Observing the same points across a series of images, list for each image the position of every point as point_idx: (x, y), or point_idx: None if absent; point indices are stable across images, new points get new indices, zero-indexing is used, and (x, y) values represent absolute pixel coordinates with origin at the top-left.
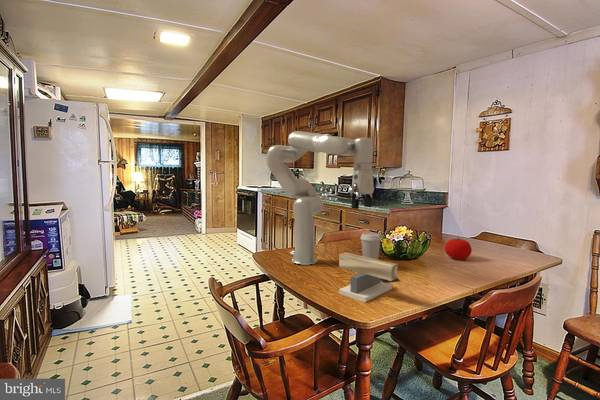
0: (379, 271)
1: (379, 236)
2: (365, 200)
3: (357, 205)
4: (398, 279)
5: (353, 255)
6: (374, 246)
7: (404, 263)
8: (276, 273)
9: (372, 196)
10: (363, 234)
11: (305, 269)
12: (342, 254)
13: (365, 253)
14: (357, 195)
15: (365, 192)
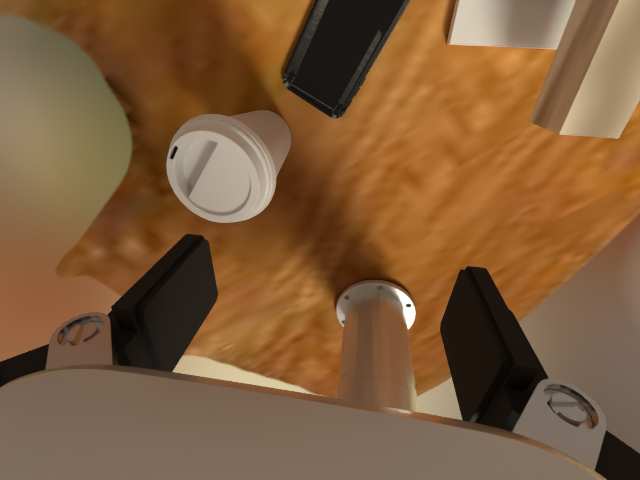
0: None
1: (199, 127)
2: (183, 343)
3: (496, 299)
4: None
5: (619, 58)
6: (255, 127)
7: (127, 44)
8: (519, 309)
9: (60, 327)
10: (249, 207)
11: (439, 273)
12: (616, 123)
13: (282, 157)
14: (589, 457)
15: (409, 456)
